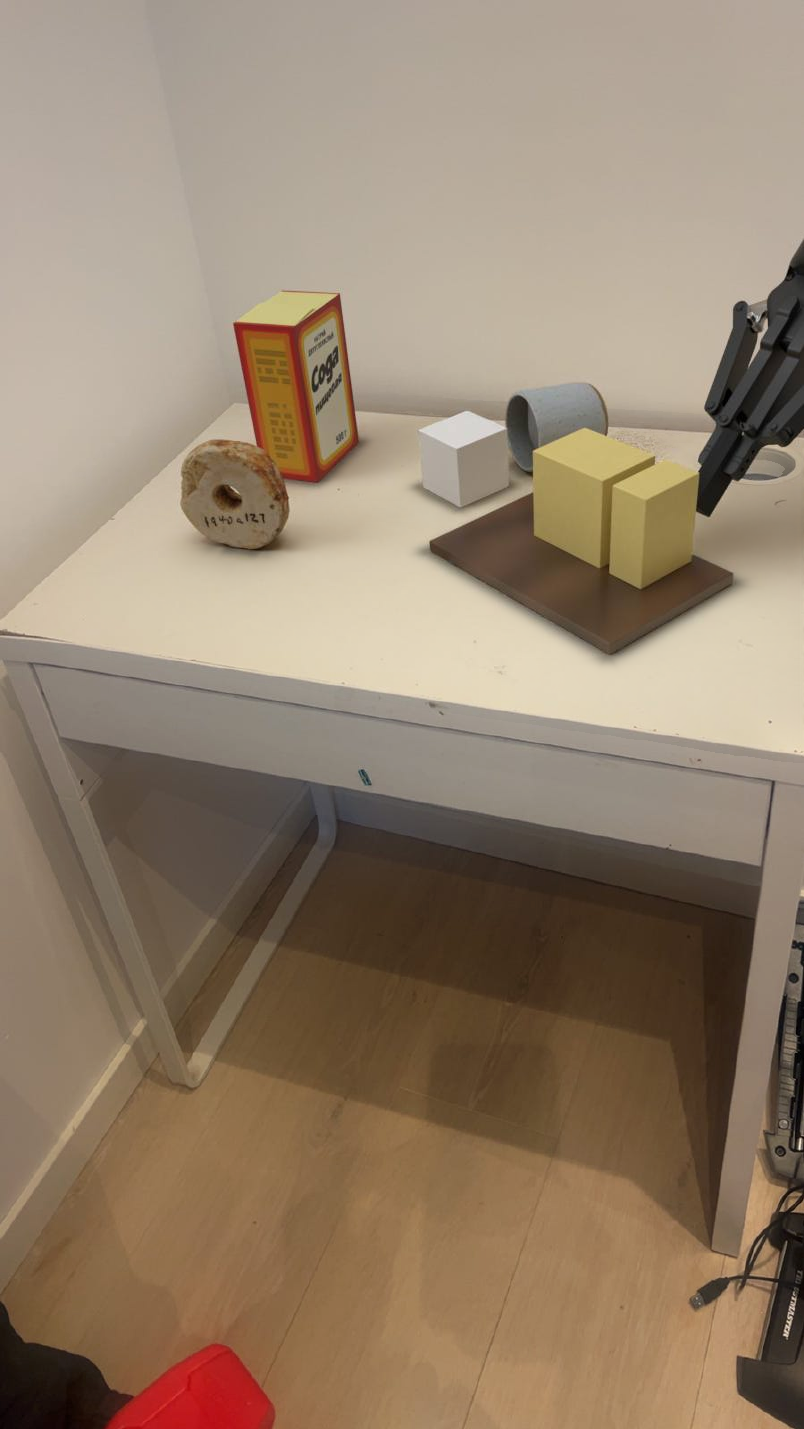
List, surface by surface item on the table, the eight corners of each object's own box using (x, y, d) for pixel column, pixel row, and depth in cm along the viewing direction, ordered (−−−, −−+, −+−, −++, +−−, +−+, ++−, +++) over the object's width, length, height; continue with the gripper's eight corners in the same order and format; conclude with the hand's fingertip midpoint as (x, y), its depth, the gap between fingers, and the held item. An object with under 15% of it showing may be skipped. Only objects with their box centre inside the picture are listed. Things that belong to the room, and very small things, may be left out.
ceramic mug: (612, 462, 102) (615, 386, 97) (539, 484, 100) (538, 407, 95) (559, 427, 110) (559, 355, 105) (490, 446, 108) (486, 373, 103)
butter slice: (691, 561, 85) (700, 472, 80) (640, 590, 83) (646, 499, 78) (659, 546, 88) (665, 458, 83) (608, 573, 85) (612, 485, 80)
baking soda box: (306, 436, 114) (281, 286, 104) (358, 442, 111) (339, 289, 101) (262, 475, 107) (232, 319, 97) (317, 482, 105) (292, 323, 95)
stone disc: (303, 536, 97) (286, 436, 90) (286, 557, 94) (267, 454, 88) (207, 525, 100) (183, 428, 94) (187, 545, 98) (162, 445, 91)
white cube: (470, 467, 105) (467, 410, 101) (509, 486, 101) (507, 428, 97) (422, 487, 102) (417, 429, 98) (460, 508, 98) (456, 448, 94)
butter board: (732, 583, 84) (734, 572, 83) (610, 655, 78) (610, 644, 78) (545, 495, 98) (545, 486, 98) (429, 550, 93) (429, 540, 92)
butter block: (650, 542, 88) (655, 455, 83) (599, 569, 86) (602, 481, 81) (583, 511, 93) (584, 427, 88) (533, 535, 91) (532, 450, 86)
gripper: (946, 284, 80) (778, 552, 84) (802, 255, 89) (655, 500, 92) (921, 228, 75) (742, 517, 78) (770, 202, 83) (615, 465, 87)
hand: (695, 507), depth 85 cm, fingers closed
